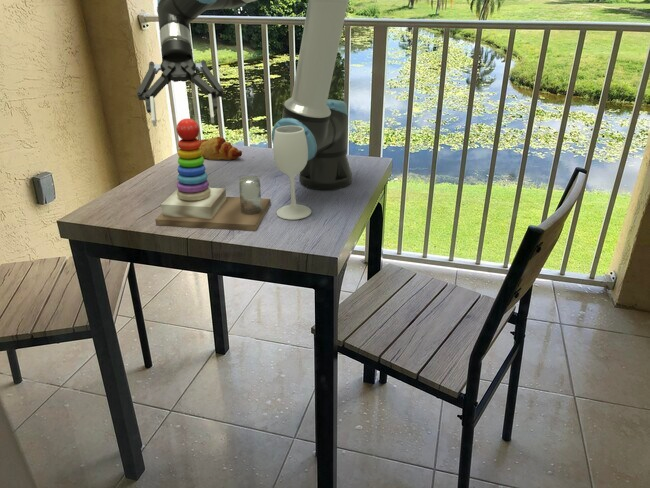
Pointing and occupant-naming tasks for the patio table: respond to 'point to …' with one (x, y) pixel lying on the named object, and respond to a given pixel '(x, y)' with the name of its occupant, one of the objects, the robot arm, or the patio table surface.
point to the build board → (221, 217)
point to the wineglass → (291, 165)
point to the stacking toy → (191, 163)
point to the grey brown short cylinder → (250, 195)
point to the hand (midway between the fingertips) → (183, 121)
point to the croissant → (218, 149)
